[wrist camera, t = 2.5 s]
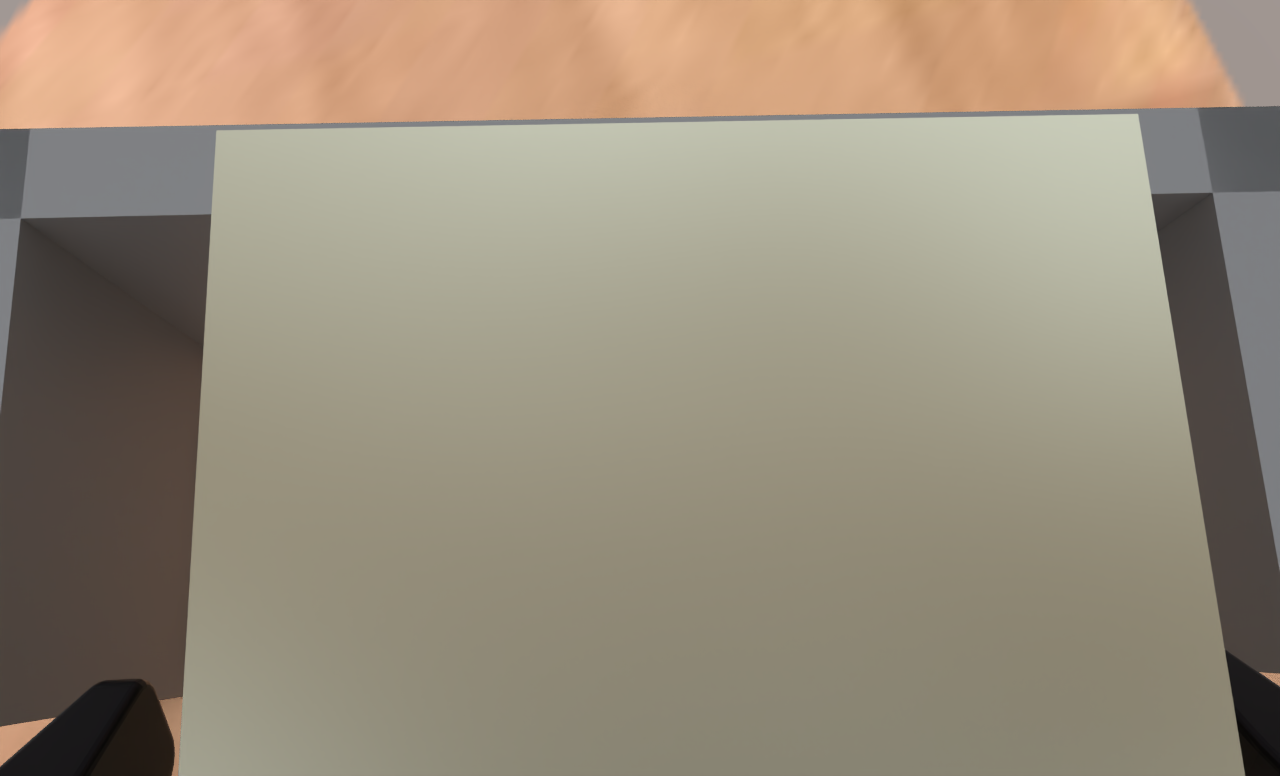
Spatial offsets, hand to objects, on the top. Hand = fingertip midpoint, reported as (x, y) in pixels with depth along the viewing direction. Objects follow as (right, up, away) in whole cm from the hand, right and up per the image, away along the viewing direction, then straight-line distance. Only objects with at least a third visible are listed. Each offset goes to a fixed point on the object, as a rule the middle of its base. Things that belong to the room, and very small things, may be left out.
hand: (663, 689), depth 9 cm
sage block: (0, -1, +8) cm, 8 cm away
